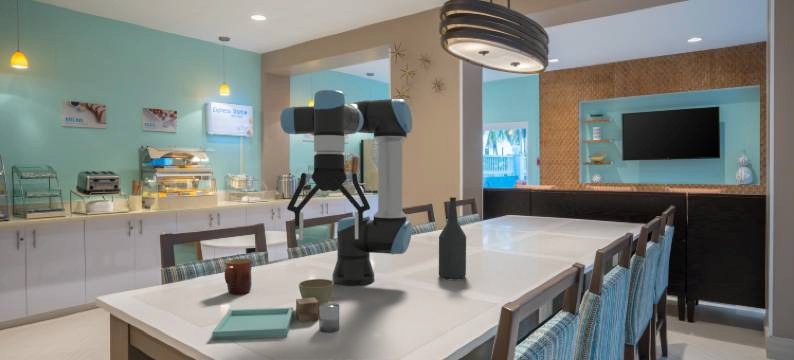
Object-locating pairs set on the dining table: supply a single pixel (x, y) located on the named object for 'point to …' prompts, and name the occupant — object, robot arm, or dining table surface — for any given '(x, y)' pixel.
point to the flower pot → (317, 290)
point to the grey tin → (329, 317)
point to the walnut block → (307, 310)
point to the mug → (238, 275)
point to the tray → (254, 324)
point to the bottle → (452, 247)
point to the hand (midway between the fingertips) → (329, 238)
